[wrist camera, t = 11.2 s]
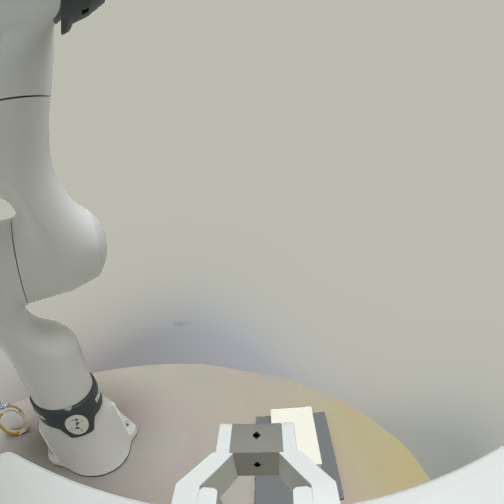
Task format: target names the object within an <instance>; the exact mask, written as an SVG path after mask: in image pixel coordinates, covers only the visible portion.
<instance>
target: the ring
mask: <svg viewBox="0 0 504 504" xmlns="http://www.w3.org/2000/svg"><path fill="white" fill-rule="evenodd" d="M8 411H14V412H16V413H18V414H19V415H20V416H21V417H22V418H23V420H24V426H23V427H22V428H21V429H17V430H15V431H14V430H9V429H7V428H5V427H4V426H3V425H2V424H1V422H0V428H1V429H2V430H3V431H4V432H6V433H8V434H12V435H22V433H24V432H25V431H26V429H27V420H26V417H25V415H24V413H23V412H22V411H21V410H20V409H19V408H18V407H16V406H14V405H11V404H9V403H8V404H7V402H2V403H1V402H0V418H1V416H2V415H3V413H5V412H8Z"/></svg>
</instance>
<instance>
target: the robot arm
mask: <svg viewBox="0 0 504 504" xmlns="http://www.w3.org/2000/svg"><path fill="white" fill-rule="evenodd" d="M104 2H105V0H0V198H2V199H4V200H6V201H7V202H9V203H10V204H11V205H12V207H13V208H14V209H15V211H16V213H17V214H16V215H15V216H14V217H12V218H10V219H6V220H2V221H0V347H1V349H2V350H3V351H4V352H5V353H6V355H7V356H8V358H9V359H10V360H11V362H12V364H13V366H14V368H15V369H16V371H17V373H18V374H19V376H20V378H21V380H22V382H23V384H24V386H25V387H26V389H27V391H28V393H29V395H30V401H31V403H32V406H33V408H34V410H35V412H36V414H37V415H38V417H39V422H38V425H39V431H40V433H41V435H42V437H43V438H44V440H45V441H46V443H47V445H48V457H49V460H50V461H51V463H53V464H55V465H59V466H64V467H66V468H68V469H70V470H71V471H73V472H75V473H77V474H80V475H85V476H98V475H103V474H106V473H109V472H111V471H113V470H114V469H116V468H117V467H119V466H120V465H121V464H122V463H123V462H124V460H125V459H126V458H127V456H128V454H129V451H130V446H131V441H132V439H133V438H134V437H135V436H136V434H137V432H138V428H137V427H136V425H135V424H134V423H133V422H131V421H130V420H129V419H128V418H127V417H126V416H125V415H124V414H122V413H121V412H120V411H119V410H118V409H117V407H116V405H115V403H114V402H112V401H110V400H109V399H108V398H107V397H106V396H105V395H104V394H102V393H101V391H100V388H99V385H98V383H97V381H96V380H95V378H94V376H93V375H92V374H91V373H90V372H89V369H88V367H87V364H86V362H85V359H84V356H83V353H82V351H81V348H80V345H79V342H78V339H77V337H76V336H75V334H74V333H73V332H72V331H71V330H70V329H69V328H68V327H66V326H65V325H63V324H61V323H58V322H56V321H52V320H47V319H42V318H39V317H36V316H34V315H33V314H31V313H30V312H29V311H28V310H27V309H26V308H25V305H27V304H28V303H31V302H35V301H38V300H41V299H45V298H48V297H52V296H55V295H58V294H62V293H65V292H69V291H72V290H74V289H76V288H77V287H80V286H81V285H83V284H85V283H87V282H89V281H91V280H92V279H94V278H96V277H98V276H99V275H100V273H101V271H102V269H103V267H104V264H105V260H106V254H107V245H106V244H107V243H106V238H105V234H104V231H103V228H102V226H101V224H100V223H99V221H98V220H97V219H96V217H95V216H94V215H93V214H92V213H91V212H90V211H89V210H87V209H86V208H84V207H82V206H80V205H79V204H77V203H76V202H75V201H74V200H72V199H71V198H70V197H69V196H68V195H67V193H66V192H65V191H64V189H63V188H62V187H61V185H60V183H59V181H58V180H57V178H56V175H55V173H54V170H53V167H52V163H51V158H50V149H49V106H50V96H51V85H52V73H53V57H54V25H55V24H57V23H58V22H59V21H60V20H61V34H62V35H63V34H65V33H67V32H69V30H70V28H71V26H72V24H73V23H75V22H77V21H79V20H81V19H83V18H85V17H87V16H89V15H90V14H91V13H92V12H93V11H95V10H96V9H97V8H98V7H99V6H101V5H102V4H103V3H104ZM252 475H279V476H280V478H281V479H282V480H283V481H284V482H285V484H286V485H287V486H288V487H289V488H290V490H291V491H292V492H293V494H292V503H291V504H340V499H339V494H338V489H337V485H336V481H335V480H333V479H332V478H331V477H330V476H329V475H327V474H326V473H325V472H324V471H323V470H322V469H321V468H319V467H318V466H317V465H316V464H315V463H314V462H313V461H312V460H310V459H309V458H308V457H307V456H306V455H305V454H304V453H303V452H302V451H297V444H296V435H295V427H294V423H293V422H285V423H266V424H220V426H219V433H218V439H217V445H216V452H212V453H211V454H210V455H209V456H207V457H206V458H205V459H204V460H203V461H202V462H201V463H200V464H198V465H197V466H196V467H195V468H194V469H193V470H192V471H190V472H189V473H188V474H187V475H186V476H184V477H183V478H182V479H181V480H180V481H178V482H177V483H176V486H175V490H174V494H173V498H172V502H171V504H222V502H221V499H220V497H221V496H222V495H223V494H224V493H225V491H226V490H227V489H228V488H229V487H230V486H231V484H232V483H233V482H234V481H235V480H236V478H237V477H238V476H252ZM0 504H152V503H147V502H142V501H138V500H134V499H130V498H126V497H122V496H118V495H115V494H111V493H108V492H105V491H101V490H98V489H95V488H92V487H89V486H86V485H84V484H81V483H78V482H76V481H73V480H70V479H68V478H65V477H63V476H61V475H58V474H56V473H54V472H51V471H49V470H47V469H45V468H43V467H40V466H38V465H36V464H34V463H32V462H30V461H28V460H26V459H25V458H23V457H21V456H19V455H17V454H15V453H13V452H5V453H1V454H0ZM352 504H504V445H503V446H501V447H499V448H498V449H496V450H494V451H492V452H491V453H489V454H487V455H485V456H483V457H481V458H480V459H478V460H476V461H474V462H472V463H470V464H468V465H466V466H464V467H461V468H459V469H457V470H455V471H453V472H450V473H448V474H446V475H443V476H441V477H439V478H436V479H434V480H431V481H428V482H426V483H423V484H420V485H417V486H415V487H412V488H409V489H406V490H402V491H399V492H396V493H393V494H389V495H386V496H382V497H378V498H374V499H370V500H366V501H362V502H357V503H352Z"/></svg>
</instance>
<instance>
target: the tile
mask: <svg viewBox="0 0 504 504" xmlns="http://www.w3.org/2000/svg"><path fill="white" fill-rule="evenodd" d="M285 422H293V423H294V427H295V435H296V444H297V451H302V452H303V453H304V454H305V455H306V456H307V457H308V458H309V459H310V460H312V461H313V462H314V463H315V464H316V465H317V466H318V467H319V468H321V466H322V461H321V455H320V450H319V445H318V440H317V434H316V429H315V424H314V419H313V414H312V409H311V407H300V408H287V409H271V423H285Z"/></svg>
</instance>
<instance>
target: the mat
mask: <svg viewBox="0 0 504 504" xmlns="http://www.w3.org/2000/svg"><path fill="white" fill-rule="evenodd" d="M312 414H313V419H314V424H315V429H316V434H317V440H318V445H319V450H320V455H321V461H322V466H321V469H322V470H323V471H324V472H325V473H326V474H327V475H329V476H330V477H331V478H332V479H333V480H335V481H336V485H337V489H338V494H339V499H340V500H343V499H344V496H343V491H342V486H341V482H340V477H339V473H338V468H337V464H336V459H335V455H334V451H333V446H332V442H331V438H330V434H329V429H328V425H327V421H326V417H325V413H324V412H319V413H312ZM266 423H271V416H266V417H257V424H266ZM292 494H293V492H292V491H291V490H290V488H289V487H288V486H287V485H286V484H285V482H284V481H283V480H282V479H281V478H280V476H279V475H256V479H255V504H291V503H292Z"/></svg>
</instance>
